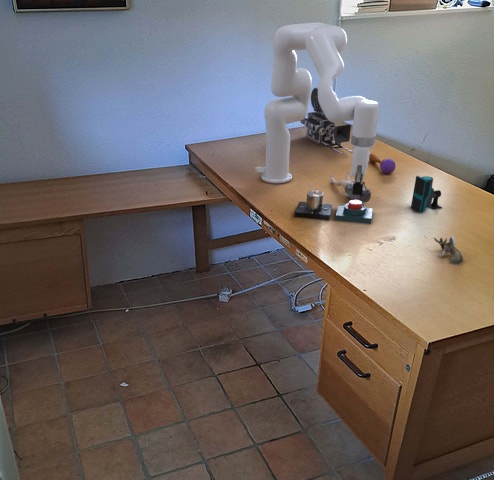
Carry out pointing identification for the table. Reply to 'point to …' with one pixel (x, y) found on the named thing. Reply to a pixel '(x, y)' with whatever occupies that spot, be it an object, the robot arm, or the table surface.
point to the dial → (314, 200)
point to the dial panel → (313, 212)
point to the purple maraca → (383, 163)
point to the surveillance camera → (424, 194)
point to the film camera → (324, 127)
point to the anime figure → (349, 188)
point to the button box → (354, 214)
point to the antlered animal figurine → (450, 249)
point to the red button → (355, 204)
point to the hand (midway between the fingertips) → (357, 193)
